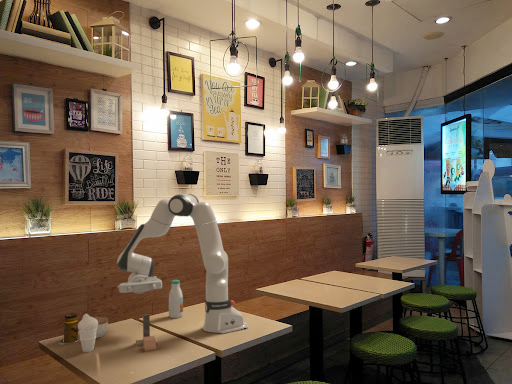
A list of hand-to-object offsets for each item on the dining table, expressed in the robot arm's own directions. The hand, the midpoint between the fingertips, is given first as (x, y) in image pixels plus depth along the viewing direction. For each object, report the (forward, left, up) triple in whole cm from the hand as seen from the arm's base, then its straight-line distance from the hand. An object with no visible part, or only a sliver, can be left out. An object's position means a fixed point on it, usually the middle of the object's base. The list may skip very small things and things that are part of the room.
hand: (142, 288), depth 197 cm
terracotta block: (0, +20, -22) cm, 29 cm away
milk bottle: (-22, -31, -23) cm, 44 cm away
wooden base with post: (0, +15, -23) cm, 27 cm away
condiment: (+32, -11, -23) cm, 41 cm away
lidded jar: (+20, -13, -23) cm, 33 cm away
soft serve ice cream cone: (+24, +7, -23) cm, 34 cm away
